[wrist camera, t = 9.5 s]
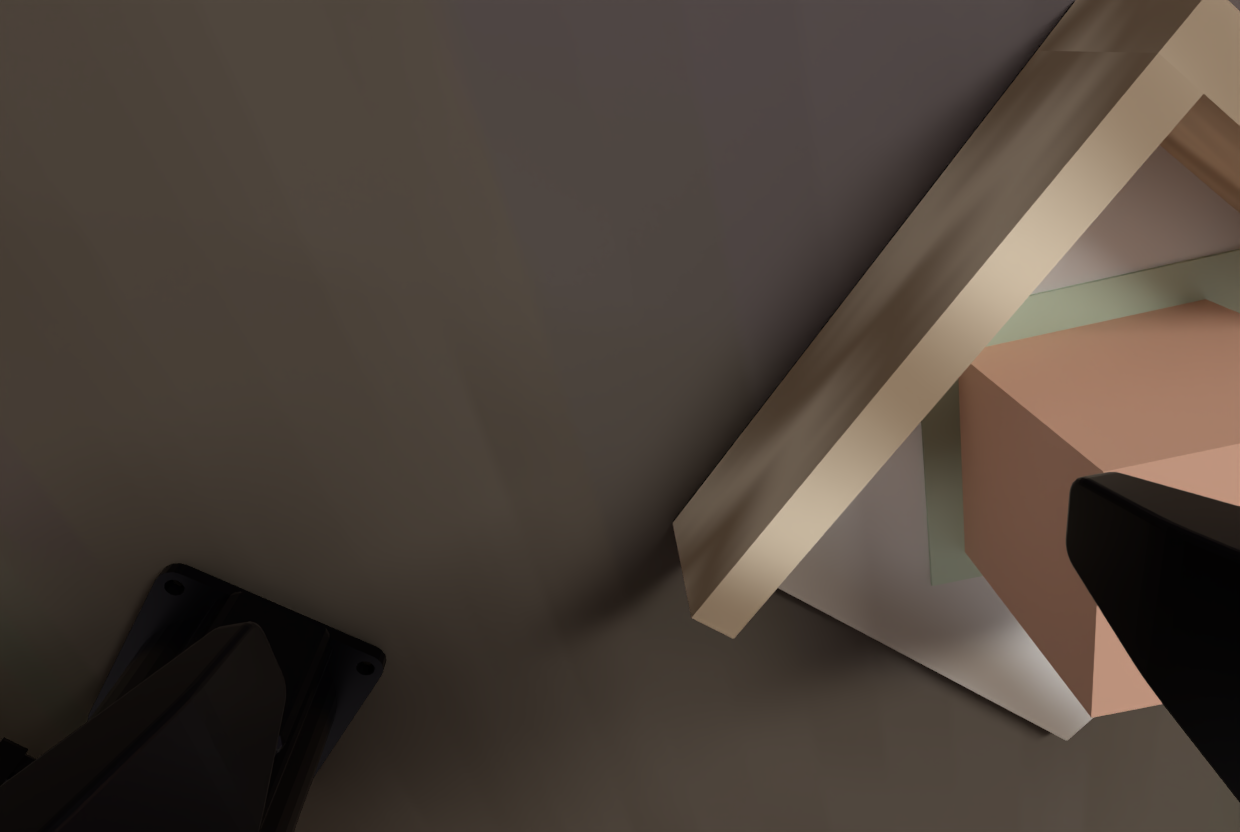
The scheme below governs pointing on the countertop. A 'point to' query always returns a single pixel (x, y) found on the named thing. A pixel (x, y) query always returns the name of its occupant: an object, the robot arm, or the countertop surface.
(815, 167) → the countertop surface
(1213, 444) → the cube
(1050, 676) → the tray
